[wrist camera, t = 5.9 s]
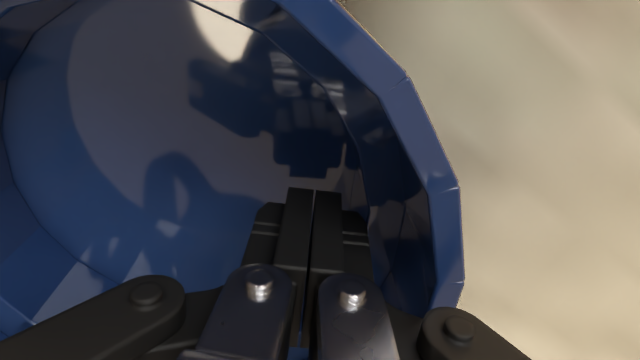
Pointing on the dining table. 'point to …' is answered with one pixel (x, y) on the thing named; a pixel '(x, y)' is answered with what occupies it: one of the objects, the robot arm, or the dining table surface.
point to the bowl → (206, 147)
